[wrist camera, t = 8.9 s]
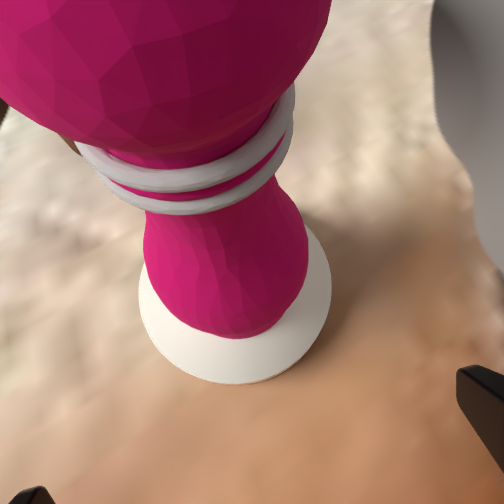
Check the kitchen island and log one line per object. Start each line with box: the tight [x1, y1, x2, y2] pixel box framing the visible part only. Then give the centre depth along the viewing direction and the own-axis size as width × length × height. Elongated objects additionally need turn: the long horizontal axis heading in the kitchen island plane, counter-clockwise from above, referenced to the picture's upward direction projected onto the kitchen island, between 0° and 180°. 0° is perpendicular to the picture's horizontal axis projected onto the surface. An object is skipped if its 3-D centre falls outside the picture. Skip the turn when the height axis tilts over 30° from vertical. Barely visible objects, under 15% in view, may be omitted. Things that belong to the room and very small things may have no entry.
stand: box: [139, 224, 332, 385], centre depth 21 cm, size 11×11×2 cm
